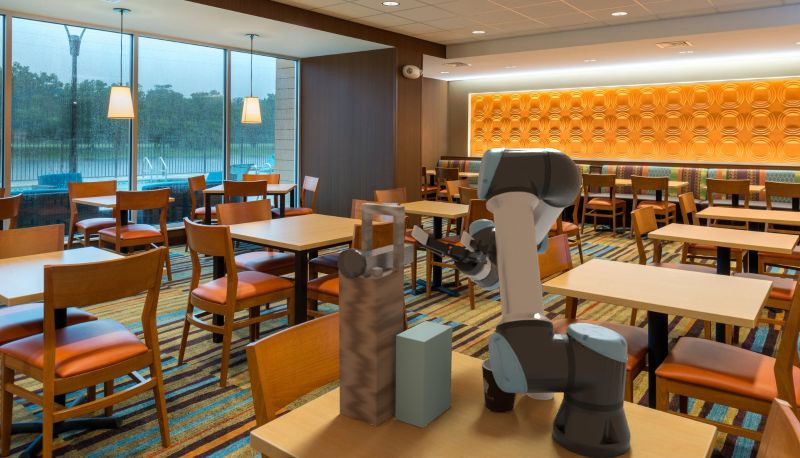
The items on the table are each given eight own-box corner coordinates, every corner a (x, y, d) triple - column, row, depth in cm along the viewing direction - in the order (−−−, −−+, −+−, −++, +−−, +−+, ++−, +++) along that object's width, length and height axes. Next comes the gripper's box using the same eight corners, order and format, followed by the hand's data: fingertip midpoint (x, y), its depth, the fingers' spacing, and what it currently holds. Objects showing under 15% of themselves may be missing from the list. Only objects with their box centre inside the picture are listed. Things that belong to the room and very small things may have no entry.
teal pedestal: (450, 406, 135) (452, 326, 132) (422, 428, 125) (424, 342, 122) (424, 398, 139) (425, 320, 135) (395, 418, 129) (396, 335, 126)
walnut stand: (402, 408, 134) (404, 206, 126) (376, 426, 125) (377, 211, 118) (366, 397, 139) (367, 202, 132) (339, 413, 131) (338, 207, 123)
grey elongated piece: (416, 262, 136) (417, 236, 136) (360, 280, 119) (360, 251, 118) (395, 258, 140) (395, 233, 139) (337, 276, 122) (337, 248, 121)
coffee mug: (518, 416, 130) (520, 373, 129) (479, 412, 132) (480, 370, 130) (518, 394, 141) (520, 354, 140) (482, 390, 143) (483, 351, 141)
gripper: (512, 283, 150) (480, 255, 134) (428, 268, 164) (390, 241, 147) (519, 255, 152) (489, 224, 135) (435, 243, 166) (399, 214, 149)
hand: (437, 233), depth 141 cm, fingers open, 13 cm apart
